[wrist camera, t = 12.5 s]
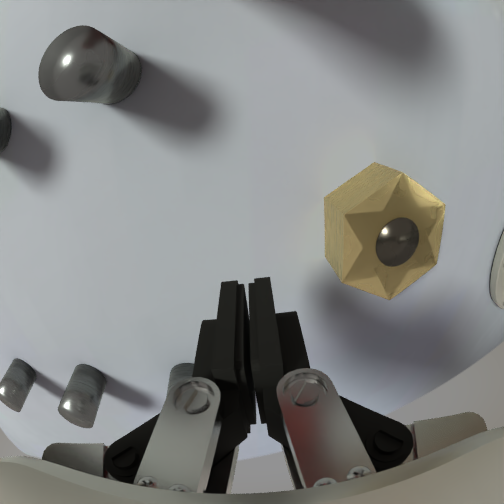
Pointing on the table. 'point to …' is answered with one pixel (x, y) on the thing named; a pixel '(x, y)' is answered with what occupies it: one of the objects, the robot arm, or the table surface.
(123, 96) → the posts
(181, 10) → the table surface
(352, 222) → the brass nut
